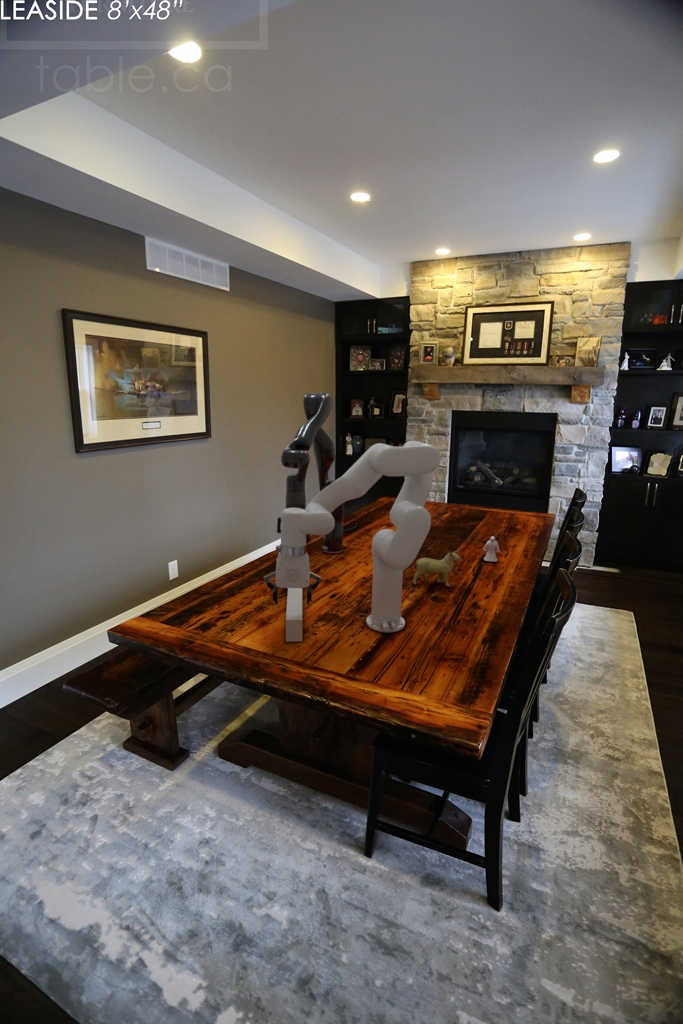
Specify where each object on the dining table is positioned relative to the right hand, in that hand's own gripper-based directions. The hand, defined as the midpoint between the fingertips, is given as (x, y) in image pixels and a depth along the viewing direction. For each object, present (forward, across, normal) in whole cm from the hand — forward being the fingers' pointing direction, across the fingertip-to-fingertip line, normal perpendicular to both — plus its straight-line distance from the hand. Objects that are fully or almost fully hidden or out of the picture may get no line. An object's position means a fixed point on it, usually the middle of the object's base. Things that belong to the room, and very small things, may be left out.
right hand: (292, 603), depth 152 cm
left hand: (-6, 0, +43) cm, 44 cm away
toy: (+9, +55, +38) cm, 68 cm away
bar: (+10, +1, +22) cm, 24 cm away
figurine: (+8, +88, +66) cm, 110 cm away
